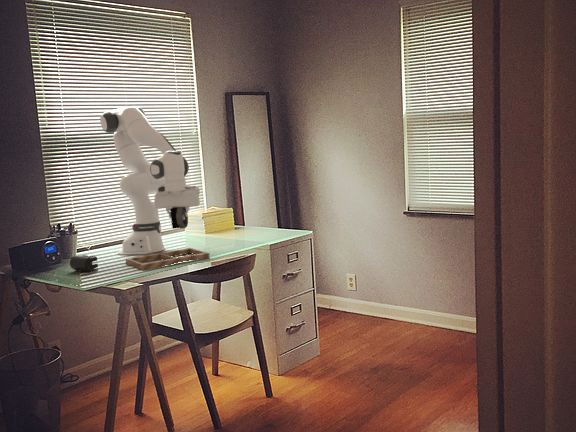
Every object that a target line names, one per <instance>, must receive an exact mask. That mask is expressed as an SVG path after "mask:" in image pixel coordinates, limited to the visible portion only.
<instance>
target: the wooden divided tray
mask: <svg viewBox="0 0 576 432" xmlns="http://www.w3.org/2000/svg"><path fill="white" fill-rule="evenodd" d="M185 253H193V254H195V255H193V254H189V256H184V257H178V258H175V257H176V256H175V255H180V254H185ZM171 256H175V257H171ZM210 257H211V256H210V253H209V252H207V251H204V250H199V249H196V248H192V247H187V248H186V247H185V248H182V249H180V248H179V249H174V250H170V251H162V252H158V253H157V252H155V253H149V254H143V255H140V256H139V255H138V256H133V257H128V258H125V264H126V265H127V266H131V267H133V268H136V269H138V270H141V271H148V270H153V269H159V268H158V267H160V268H163V267H162V266H165V265H170V266H172V265H171V264H174V263H178V262H183V261H189V260H197V259H203V260H207V259H210ZM161 259H163V260H161ZM156 260H157V261H156ZM145 262H146V263H145ZM165 267H166V266H165Z"/></svg>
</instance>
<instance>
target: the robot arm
mask: <svg viewBox="0 0 576 432" xmlns="http://www.w3.org/2000/svg"><path fill="white" fill-rule="evenodd" d="M99 120H100V126H101V128H102V130H103V131H104V132H105V133H108V134H113V143H114V147H115V150H116V152H117V154H118V157H119V158H120V161H121V163H122V165H123V167H124V168H125V169H126V170H128V171H130V172H132V173H130V174H126V175H123V176H122V178H121V179H120V181H119V188H120V190H121V192H122V193H123V194H124V195H125V196H126V197H128V199H129V200H130V202H131V203H132V205H133V208H134V215H135V223H133V224H132V227H131V229H132V232H130V234H128V235H127V236H126V237H125V238H124V239H123V241H122V246H121V247H122V248H120V249H119V250H118V251H117V253H118V255H120V256H122V255H123V256H124V255H127V256H128V255H150V254H154V253H157V252H158V253H160V252H161V251H162V252H163V251H164V250H165V249H166V248H165V245H164V243H163V239H162V225H161V221H160V218H159V215H160V214H159V209H165V211H166V212H167V214H168V218H169V219H172V218H171V217H170V216H171V213H170V208H176V207H186V209H187V211H186V213H184V217H188V218H189V216H188V215H189V214H188V213H189V211H190V208H191V207H199V206H200V205H201V199H200V194H201V193H200V192H201V191H200V188H199V186H196V185H187V184H186V182H187V181H186V176H187V174H188V173H189V168H190V166H189V163H188V161H187V159H186V158H185V157H184V156H183V154H182V152H181V151H179V150H176V149H175V147H174V146H173V145H172V143H171V142H170V141H169V140H168V139H167V137H165V136H164V135H163V134H162V133H161V132H159V131H158V130H157V129H155V127H153V125H152V124H151V123H150V122H149V120H148V119H147V118H146V113H145V111H144V109H143V108H142V107H141V106H137V105H136V106H134V105H133V106H132V105H131V106H127V107H120V108H116V109H113V110H107V111H105V112H103V113H102V114H101V115H100V119H99ZM141 146H145V147H151V148H154V149H156V150H158V151H160V153H161V155H162V156H159V157H157V158H155V159H153V160H152V161H151V162H150V161H149V160H148V159H147V158H146V156H145V154H144V152H143V151H142V148H141ZM151 194H154V202H153V201H151V199H150V196H149V195H151Z"/></svg>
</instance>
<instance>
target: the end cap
mask: <svg viewBox="0 0 576 432" xmlns="http://www.w3.org/2000/svg"><path fill="white" fill-rule="evenodd" d="M97 261H98V257H97V256H96V255H90V256H88V255H86V254H83V255H73V256H71V258H70V261H69V266H70V268H71V269H72V270H74V271H76V272H84V273H93V272H97V271H99V270H98V267H99V264H98V263H93V262H97Z"/></svg>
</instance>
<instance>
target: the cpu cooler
mask: <svg viewBox="0 0 576 432" xmlns="http://www.w3.org/2000/svg"><path fill="white" fill-rule="evenodd" d="M169 211H170V213H171V216H170V217H171V218H170V219H171V220H170V221H171V222H170V223H171V228H172V229H186V228H187V227H188V223H189V216H188V217H184V213H186V211H187V209H186V207H176V208H170V210H169Z"/></svg>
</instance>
